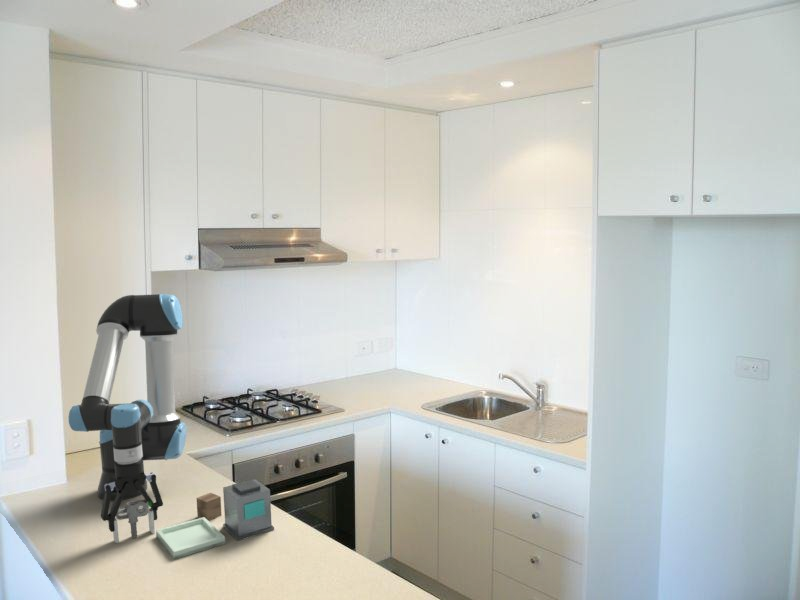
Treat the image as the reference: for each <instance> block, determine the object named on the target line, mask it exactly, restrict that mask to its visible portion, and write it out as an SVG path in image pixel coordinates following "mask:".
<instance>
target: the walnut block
mask: <svg viewBox="0 0 800 600" xmlns="http://www.w3.org/2000/svg"><path fill="white" fill-rule="evenodd" d="M196 510H197V511H196V512H197V518H202V517H205V518H206V519H207V520H208V521H209V522H210V521H211V520H214V519H217V518H218V517H221V516H222V500H221V496H220V495H217V494H215V493H213V492H208V493H205V494H203V495H200V496H198V497H196Z"/></svg>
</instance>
